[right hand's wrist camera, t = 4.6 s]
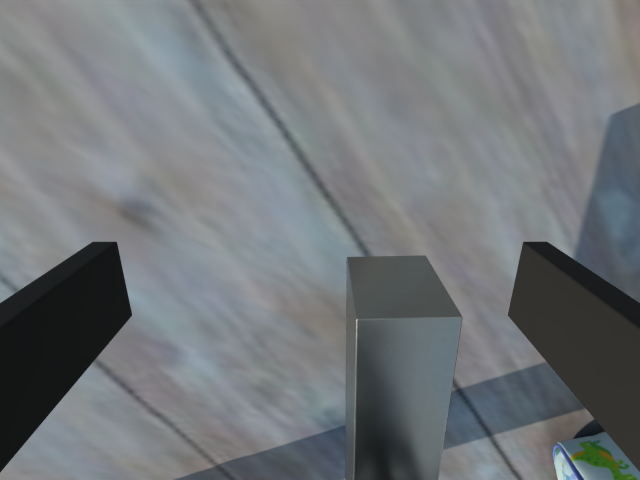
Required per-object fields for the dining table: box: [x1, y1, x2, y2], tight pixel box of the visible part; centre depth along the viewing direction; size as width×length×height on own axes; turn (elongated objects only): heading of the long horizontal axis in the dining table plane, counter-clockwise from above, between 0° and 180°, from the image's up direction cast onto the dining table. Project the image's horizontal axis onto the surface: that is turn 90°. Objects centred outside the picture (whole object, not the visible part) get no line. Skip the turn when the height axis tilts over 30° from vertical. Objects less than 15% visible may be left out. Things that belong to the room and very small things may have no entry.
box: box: [345, 256, 463, 480], centre depth 31 cm, size 26×6×8 cm, turn 1°
